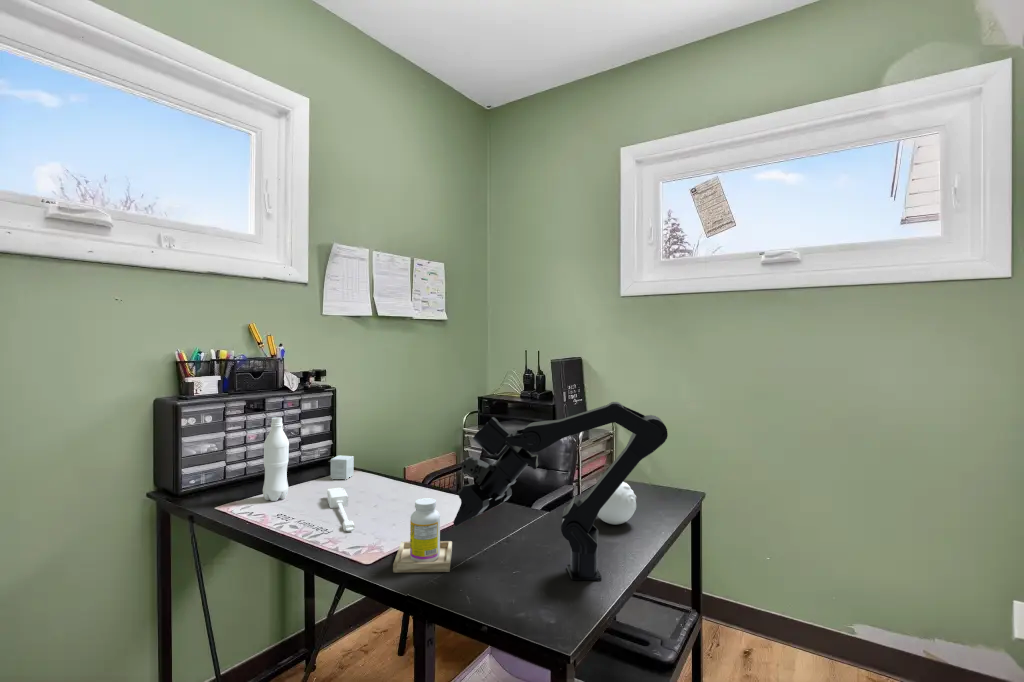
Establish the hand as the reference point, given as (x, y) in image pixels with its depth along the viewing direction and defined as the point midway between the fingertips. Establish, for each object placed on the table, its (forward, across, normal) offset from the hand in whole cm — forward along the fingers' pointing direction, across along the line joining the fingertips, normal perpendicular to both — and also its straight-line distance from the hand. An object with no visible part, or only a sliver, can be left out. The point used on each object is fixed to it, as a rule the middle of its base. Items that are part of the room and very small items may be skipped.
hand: (463, 520), depth 114 cm
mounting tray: (+13, +2, -1) cm, 13 cm away
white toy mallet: (+35, -17, -32) cm, 50 cm away
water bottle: (+50, -19, -53) cm, 75 cm away
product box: (+46, -46, -52) cm, 84 cm away
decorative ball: (-14, -39, +25) cm, 48 cm away
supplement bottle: (+12, +2, -1) cm, 12 cm away
